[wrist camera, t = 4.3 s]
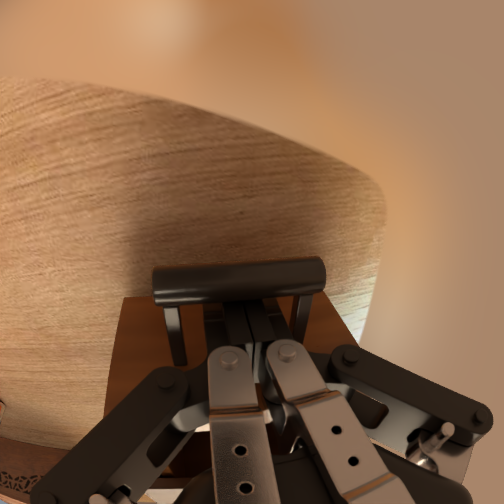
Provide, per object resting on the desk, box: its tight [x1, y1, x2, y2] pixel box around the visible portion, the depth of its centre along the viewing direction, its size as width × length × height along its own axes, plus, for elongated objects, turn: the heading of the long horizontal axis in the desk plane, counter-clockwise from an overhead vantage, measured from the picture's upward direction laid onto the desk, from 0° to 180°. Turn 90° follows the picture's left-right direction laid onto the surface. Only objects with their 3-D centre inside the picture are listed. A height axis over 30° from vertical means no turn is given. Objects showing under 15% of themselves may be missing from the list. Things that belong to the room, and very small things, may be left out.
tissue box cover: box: [0, 437, 69, 504], centre depth 23 cm, size 26×14×10 cm, turn 92°
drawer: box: [103, 256, 371, 478], centre depth 15 cm, size 19×11×8 cm, turn 177°
